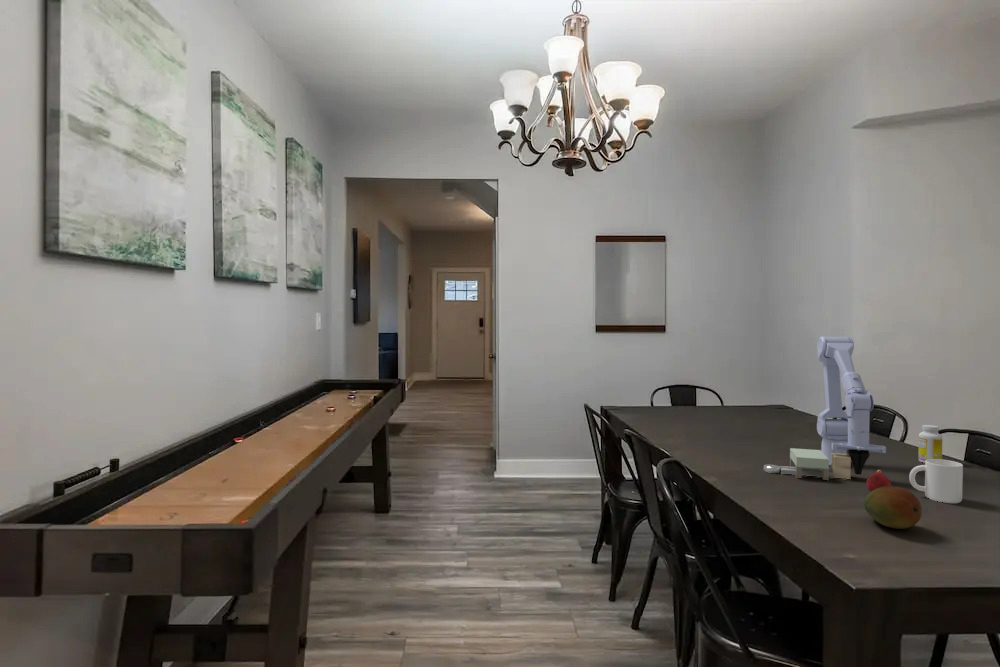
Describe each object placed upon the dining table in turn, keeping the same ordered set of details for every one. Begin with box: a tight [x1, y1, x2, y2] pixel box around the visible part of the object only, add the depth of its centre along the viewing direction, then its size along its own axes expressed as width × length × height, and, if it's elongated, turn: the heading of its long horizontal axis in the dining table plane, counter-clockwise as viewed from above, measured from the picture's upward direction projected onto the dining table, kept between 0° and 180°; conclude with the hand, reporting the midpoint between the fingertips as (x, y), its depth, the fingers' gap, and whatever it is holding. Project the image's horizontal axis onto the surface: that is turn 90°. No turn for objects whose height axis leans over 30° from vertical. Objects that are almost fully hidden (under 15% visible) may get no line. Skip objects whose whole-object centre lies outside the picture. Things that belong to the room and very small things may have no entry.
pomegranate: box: [865, 469, 892, 493], centre depth 161 cm, size 6×6×8 cm
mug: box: [908, 459, 964, 504], centre depth 161 cm, size 12×8×10 cm
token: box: [763, 463, 781, 474], centre depth 189 cm, size 5×5×2 cm
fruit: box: [863, 485, 923, 530], centre depth 139 cm, size 12×13×10 cm
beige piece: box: [779, 453, 852, 480], centre depth 185 cm, size 5×20×7 cm, turn 71°
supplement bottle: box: [917, 424, 943, 464], centre depth 200 cm, size 7×7×13 cm
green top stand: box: [789, 447, 830, 482], centre depth 185 cm, size 13×9×7 cm
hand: (857, 473), depth 181 cm, fingers closed
